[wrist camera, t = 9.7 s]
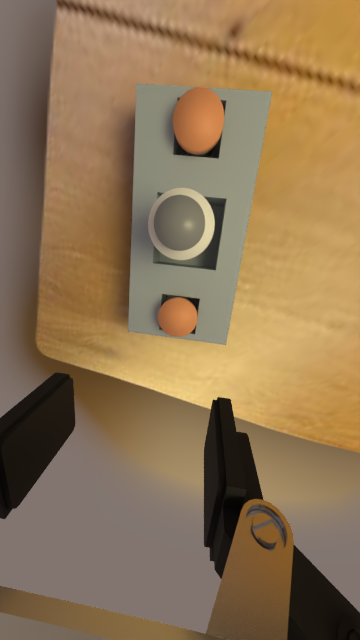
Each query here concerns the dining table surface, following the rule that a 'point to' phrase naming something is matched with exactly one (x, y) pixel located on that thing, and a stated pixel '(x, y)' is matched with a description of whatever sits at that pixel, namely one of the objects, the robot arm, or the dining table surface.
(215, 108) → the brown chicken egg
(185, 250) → the cartridge
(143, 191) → the housing
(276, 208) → the dining table surface
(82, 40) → the dining table surface
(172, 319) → the orange knob plunger
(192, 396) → the dining table surface
